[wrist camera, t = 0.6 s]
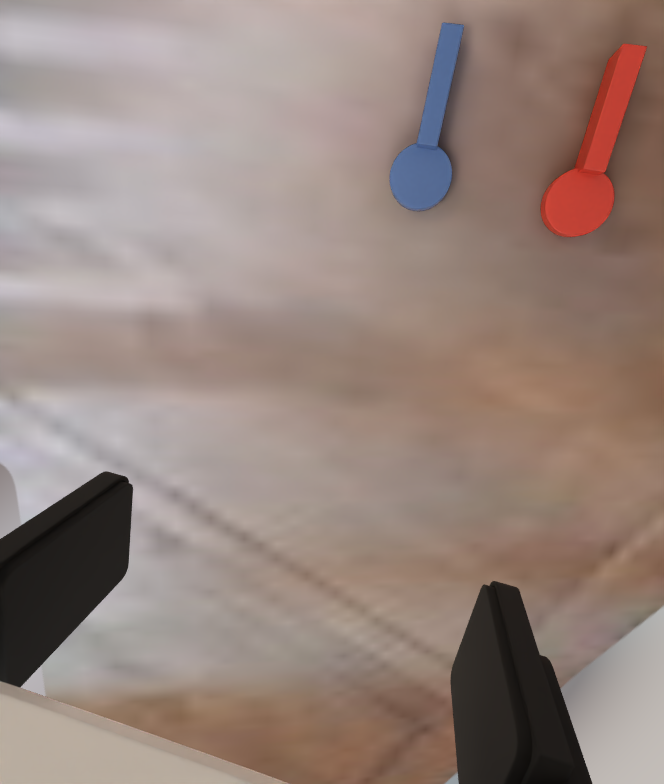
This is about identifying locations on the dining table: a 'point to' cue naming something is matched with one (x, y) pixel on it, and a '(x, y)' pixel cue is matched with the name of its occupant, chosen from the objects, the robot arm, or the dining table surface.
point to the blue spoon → (429, 135)
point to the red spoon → (594, 154)
